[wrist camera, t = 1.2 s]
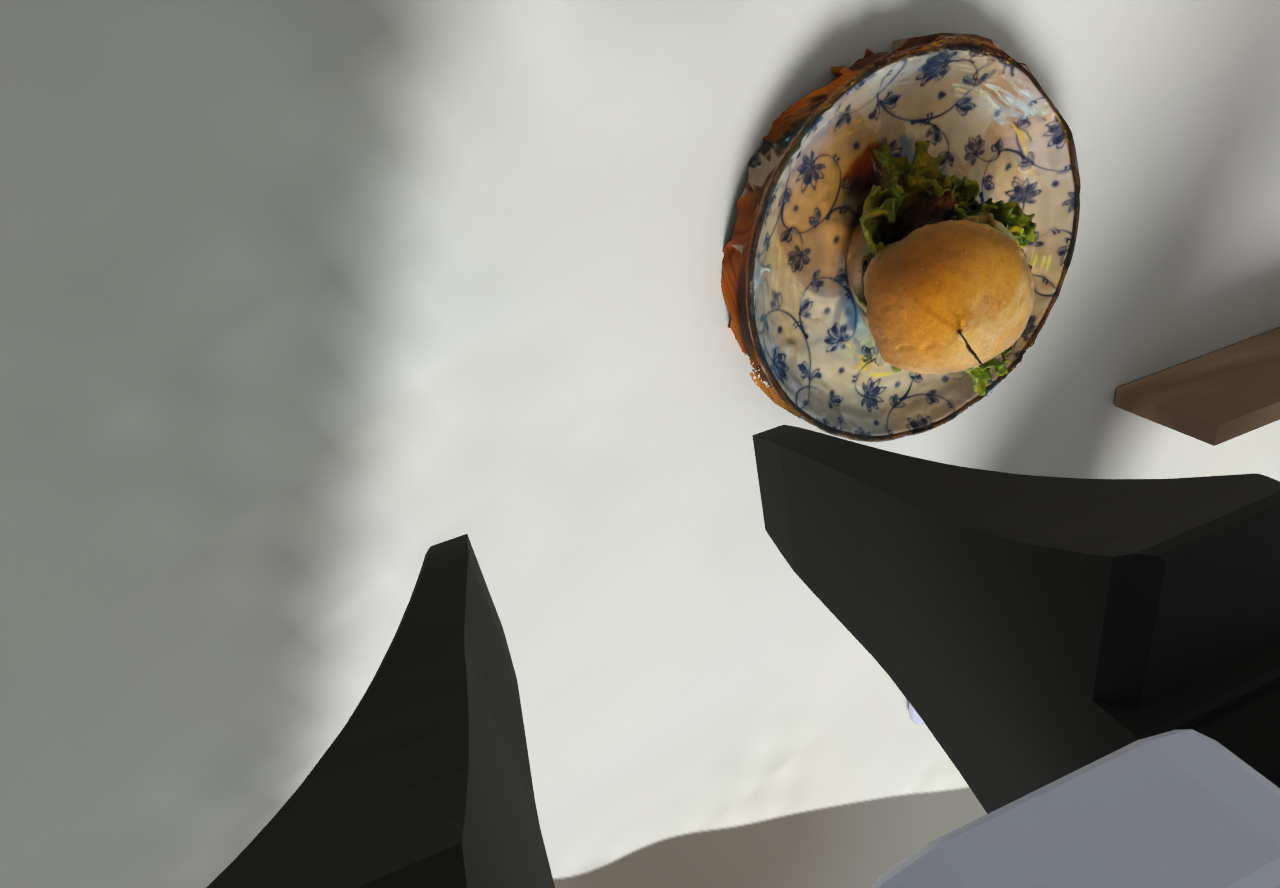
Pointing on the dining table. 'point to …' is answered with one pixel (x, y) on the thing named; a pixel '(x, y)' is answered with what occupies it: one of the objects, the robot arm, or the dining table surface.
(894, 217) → the burger
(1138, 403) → the box
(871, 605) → the robot arm
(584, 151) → the dining table surface
